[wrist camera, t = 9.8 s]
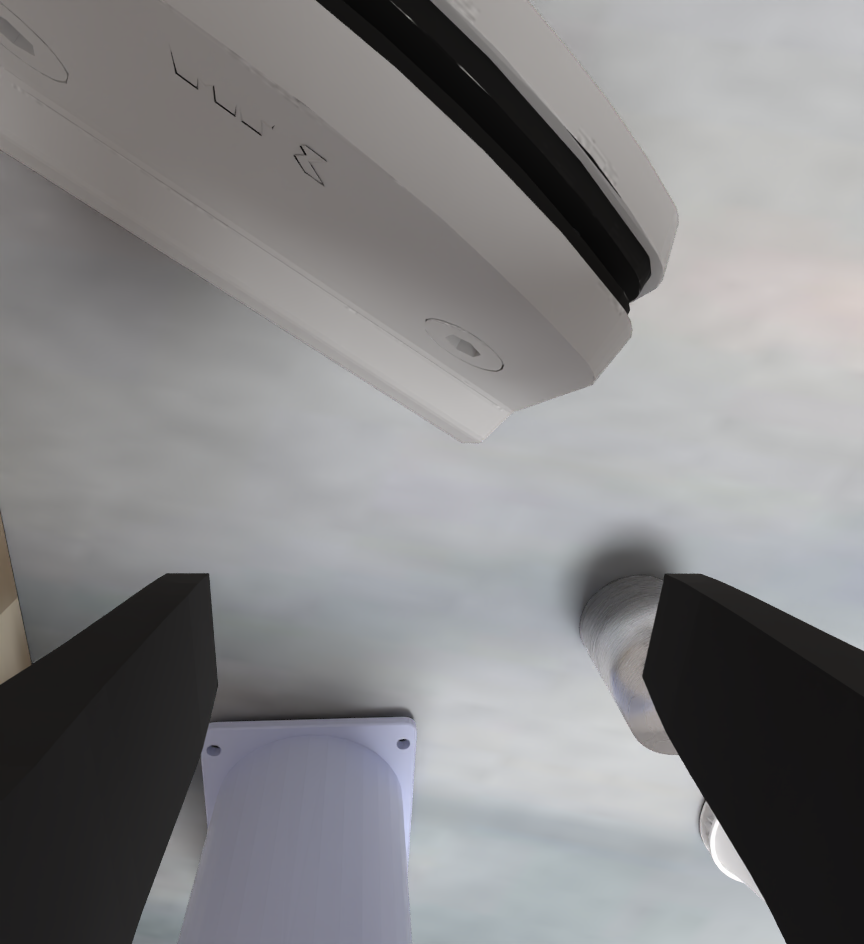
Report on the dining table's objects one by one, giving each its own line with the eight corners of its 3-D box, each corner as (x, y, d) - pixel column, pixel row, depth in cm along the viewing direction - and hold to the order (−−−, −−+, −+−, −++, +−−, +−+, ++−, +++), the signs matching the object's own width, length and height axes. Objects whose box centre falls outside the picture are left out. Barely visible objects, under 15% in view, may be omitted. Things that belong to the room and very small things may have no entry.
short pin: (669, 663, 24) (735, 752, 19) (572, 665, 23) (618, 757, 19) (690, 574, 22) (766, 650, 18) (588, 574, 22) (641, 652, 18)
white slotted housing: (-64, 108, 15) (-632, -478, 5) (41, -40, 15) (-309, -828, 6) (471, 449, 20) (682, 463, 10) (540, 328, 20) (804, 230, 10)
